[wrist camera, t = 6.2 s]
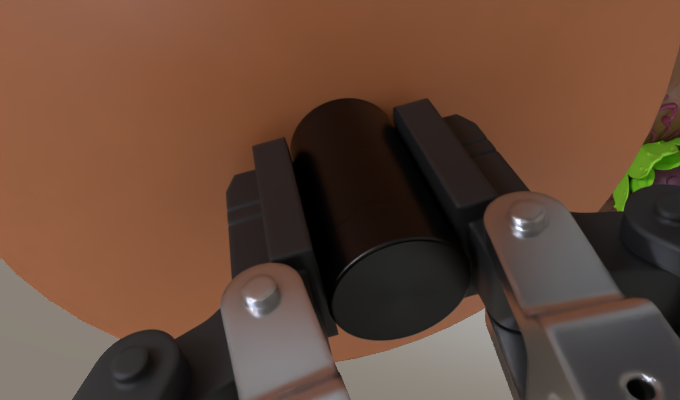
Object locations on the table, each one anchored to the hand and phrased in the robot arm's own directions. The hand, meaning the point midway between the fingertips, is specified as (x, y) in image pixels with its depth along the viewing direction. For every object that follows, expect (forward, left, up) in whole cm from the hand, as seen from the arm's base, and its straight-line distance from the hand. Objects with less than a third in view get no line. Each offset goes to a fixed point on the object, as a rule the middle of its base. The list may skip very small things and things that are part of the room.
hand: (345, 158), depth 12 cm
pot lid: (0, 0, -1) cm, 1 cm away
